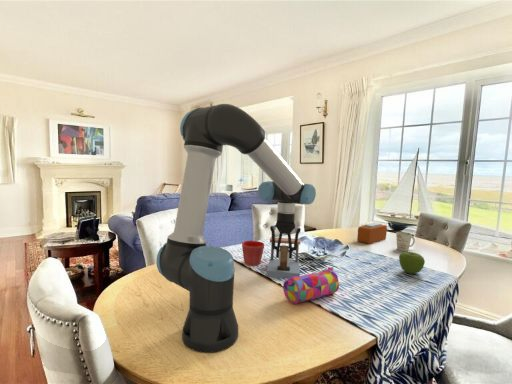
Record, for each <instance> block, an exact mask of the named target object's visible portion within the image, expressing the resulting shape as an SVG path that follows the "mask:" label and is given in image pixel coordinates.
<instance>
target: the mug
mask: <svg viewBox="0 0 512 384" xmlns="http://www.w3.org/2000/svg"><path fill="white" fill-rule="evenodd" d="M395 234H396V249H397V250H399V251H403V252H409V249H410V248H411V247H413V246H414V244H416V238H415V237H414V236H413V235H412V233H410V232H405V231H396V233H395ZM411 241H412V242H411ZM410 244H411V245H410Z"/></svg>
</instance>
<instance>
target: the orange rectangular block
mask: <svg viewBox="0 0 512 384" xmlns="http://www.w3.org/2000/svg"><path fill="white" fill-rule="evenodd" d="M387 229H388V228H387V225H386V224H382V223H379V222H369V223H366V224H365V223H364V225H362V226H358V228H357V239H356V241H357V242H359V243H362V244H363V243H364V244H367V245H372V244H376V243H378V242H382V241H385V240H386V239H387Z"/></svg>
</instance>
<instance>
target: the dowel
mask: <svg viewBox="0 0 512 384" xmlns="http://www.w3.org/2000/svg"><path fill="white" fill-rule="evenodd" d="M279 249H280V251H281V255H280V266H279V270H281V271H288V267H287V254H288V251H289V245H285V244H283V245H281V244H280V248H279Z"/></svg>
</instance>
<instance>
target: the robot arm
mask: <svg viewBox="0 0 512 384" xmlns="http://www.w3.org/2000/svg"><path fill="white" fill-rule="evenodd" d="M181 119H182V120H181V122H180V126H179V130H180V131H179V132H180V135H181V137H182V139H183V141H184V144H183V148H184V151H186V155H187V156H186V161H185V168H184V173H183V178H182V185H181V188H180V189H181V190H180V196H179V200H178V206H177V213H176V216H175V217H176V218H175V223H174V227H173V228H174V230H173V232H171V234H169V235H168V236H167V239H166V242H165V243H164V244H163V246H162V247H160V248H159V250H158V252H157V255H156V268H157V271H158V272H159V274H160V275H161V276H162V277H163V278H165V280H166V281H168V282H170V283H174V284H175V285H177V286H179V287H181V288H182V289H184V290H187V291H188V293H189V309H188V312H187V315H186V318H185V321H184V323H183V326H182V335H181V336H182V337H181V339H182V342H183V344H184V345H185V346H186V347H187V348H188V349H190V350H192V351H195V352H199V353H205V354H206V353H208V354H209V353H216V352H220V351H224V350H227V349H228V348H230V347H231V346H233V345H234V344H235V343H236V342H237V340H238V338H239V323H238V321H237V320H238V319H237V318H236V317H237V316H236V314H235V310H234V307H233V306H234V288H235V287H234V285H235V282H234V281H235V271H236V270H235V259H234V256H233V254H232V253H231V252H230V251H228V250H227V249H225V248H222V247H220V246H213V245H207V240H206V239H205V237H204V236H203V235H204V229H205V223H206V218H207V211H208V205H209V200H210V194H211V188H212V181H213V176H214V171H215V167H216V166H215V164H216V159H217V158H219V157H220V156H222V154H223V147H224V146H229V147H232V148H235V149H237V150H238V152H239V153H241V154H242V155H247V156H248V157H249V158H250V159H251V160H252V161H253V162H254V163H255V164H256V165H257V166H258V167H259V169H261V170H262V172H264V173H265V175H266V176H267V177H268V178H269V179H271V181H270V180H269V181H268V180H267V181H262V182H261V183H260V184H259V186H258V188H257V194H258V196H259V199H261V200H262V201H268V202H270V201H276V202H277V215H276V223H275V224H274V225H270V228H269V229H270V231H271V237H272V248H273V249H274V251H275V252H276V253H275V254H276V255H275V257H276V259H277V258H278V260H279V261H278V266H280V255H281V251H280V246H281V244H282V243H281V238H283V235H284V234H286V235H287V238H288V243H289V244H288V246H289V251H288V254H287V267H289V260H292V257H293V252H294V251H295V252H296V249H297V242H298V239H299V234H300V232H301V227H298V226H296V224H295V219H296V217H295V216H296V213H295V212H296V204H299V205H309V206H310V205H312V204H313V203H314V201H315V198H316V197H317V190H316V187H315V185H313V184H310V183H304V182H303V181H302V180H301V178H300V177H299V176H298V174H297V173H296V172H295V171H294V170H293V168H292V167H291V166H290V165H289V164H288V163H287V161H286V160H285V159H284V158H283V157H282V155H281V154H280V153H279V151H278V150H277V149H276V148H275V147H274V146H273V144H272V143H271V142H270V141H269V140H268V138H267V137H266V136H267V133H266V131H265V130H264V128H263V127H262V126H261V125H260V124H259V122H258V121H256V119H255V118H253V116H251V115H250V114H249V113H247V112H246V111H245V110H244V109H241V108H240V107H238V106H235V105H234V104H229V103H219V104H216V105H209V106H205V107H204V106H203V107H197V108H194V109H192V110H190V111H188V112H187V113H185V114H184V116H183V118H181ZM276 229H277V230H278V232H279V234H278V238H279V239H278V243H275V237H276ZM293 231H294V232H295V234H294V239H295V241H294V244H292V243H291V239H292V234H291V233H292V232H293Z"/></svg>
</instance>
